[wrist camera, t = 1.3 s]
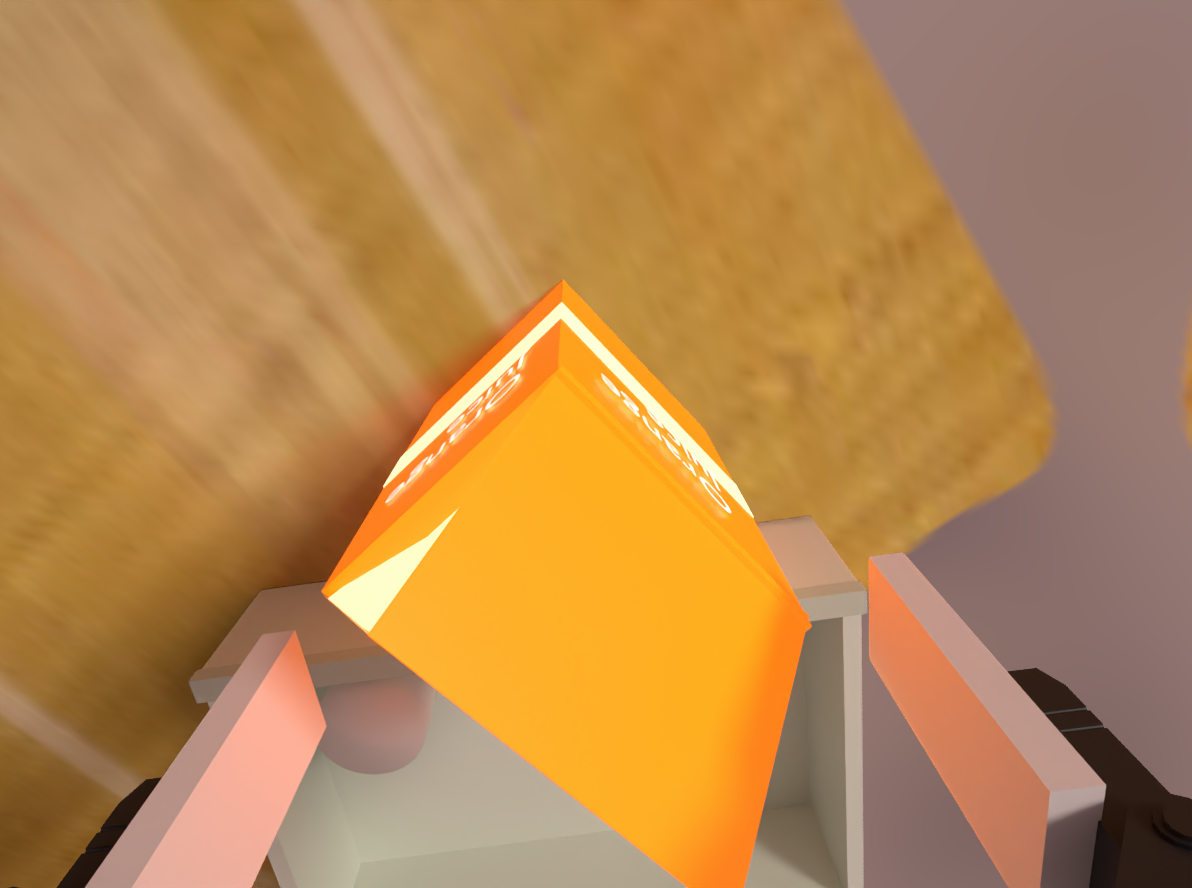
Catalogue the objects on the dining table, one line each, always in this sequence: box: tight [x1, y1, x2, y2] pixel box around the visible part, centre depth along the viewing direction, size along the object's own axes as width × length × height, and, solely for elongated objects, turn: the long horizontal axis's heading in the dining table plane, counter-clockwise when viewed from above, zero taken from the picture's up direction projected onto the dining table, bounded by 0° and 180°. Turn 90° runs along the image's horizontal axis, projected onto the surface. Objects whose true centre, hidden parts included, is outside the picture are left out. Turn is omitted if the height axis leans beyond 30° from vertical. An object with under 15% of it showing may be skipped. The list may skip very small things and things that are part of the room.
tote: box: [188, 516, 867, 888], centre depth 32 cm, size 25×17×7 cm
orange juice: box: [322, 280, 812, 888], centre depth 21 cm, size 8×9×20 cm
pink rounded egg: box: [318, 674, 437, 774], centre depth 31 cm, size 4×4×5 cm
